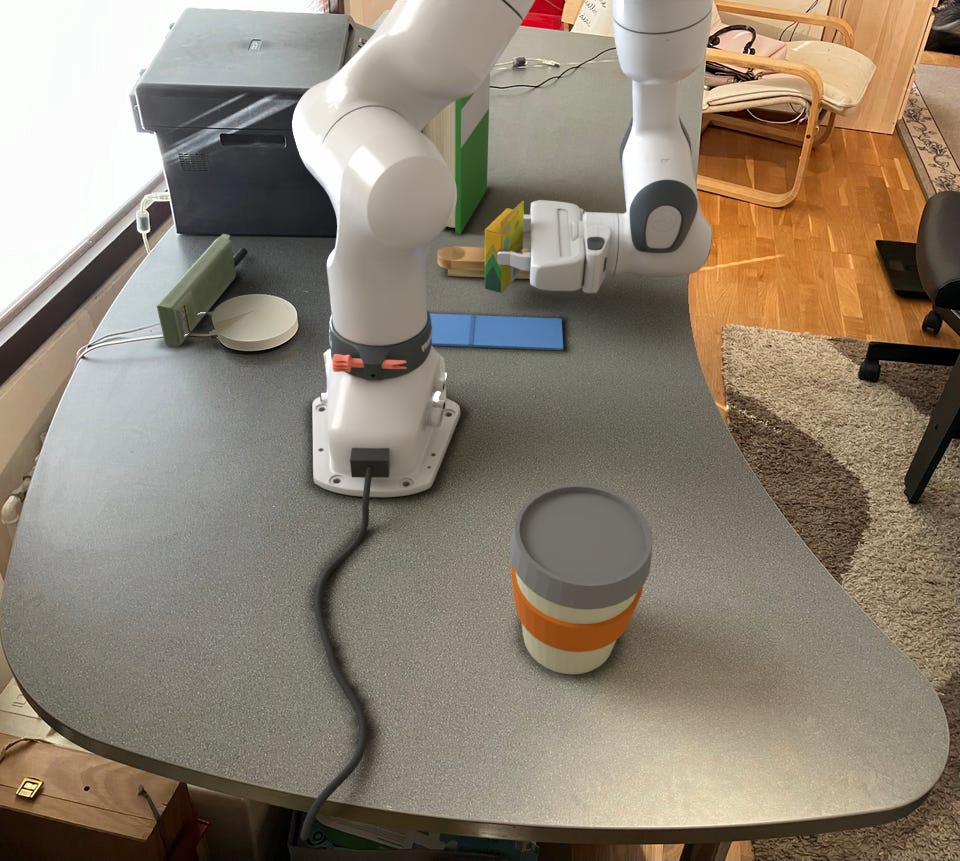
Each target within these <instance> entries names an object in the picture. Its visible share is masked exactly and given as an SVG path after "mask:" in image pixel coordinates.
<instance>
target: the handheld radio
mask: <svg viewBox="0 0 960 861" xmlns="http://www.w3.org/2000/svg"><path fill="white" fill-rule="evenodd" d="M230 237H231V235H230V234H226V233H222V234H221V235H220V236H218V237H217V238H216V239H214V241H213V242H212V243H211V245H209V247H207V249H206V250H205V251H204V252H203V253H202V255H200V257H199V258H197V260H196V261H195V262H194V263H193V264H192V265H191V266H190V268H189V269H188V270H187V271H186V272H185V273H184V274H183V275H182V277H181V278H179V280H178V281H177V282H176V283H175V284H174V285H173V287H172V288H171V289H170V290H169V291H168V292H167V293H166V294H165V295H164V297H163V298H162V299H161V300H160V301H159V302H158V303H157V305H156V309H157V314H158V318H159V323H160V327H161V331H162V336H163V340H164V344H165V345H166V346H167V347H174V348H175V347H176V348H178V347H180V346H181V345H182V344H183V343H184V342H185V340H186V339H187V338H188V336H190V334H191V332H193V330H194V329H195V328H196V327H197V325H198V324H199V323H200V322H201V320H203V318H204V317H205V316H206V314H201V315H197V314H198V313H200V312H207V313H208V312H209V311H210V309H211V308H212V307H213V306H214V304H215V303H216V302H217V300H219V298H220V297H221V296H222V294H223V293H224V292H225V291H226V290H227V288H228V287H229V286H230V284H231V283H232V282H233V281H234V280H235V278H236V276H237V275H236V274H237V273H236V267H237V266H238V265H239V264H240V263H241V262H242V261H243V259H244V258H245V257H246V256H247V255H248V253H249V252H248V250H247V249H246V248H245V247H240V249H239V250H238V251H237V252H236V253H235V254H234V252H233V246H232V242H231V240H230ZM188 333H189V334H188ZM185 334H188V335H187V336H186V337H184V335H185Z"/></svg>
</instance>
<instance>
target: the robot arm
mask: <svg viewBox="0 0 960 861" xmlns="http://www.w3.org/2000/svg"><path fill="white" fill-rule="evenodd" d="M535 2H536V0H396V1H395V3H394V4H393V6H392V7H391V9H390V11H389V13H388V14H387V15H386V16H385V19H383V21H382V22H381V24H380V25H379V26H378V28H377V29H376V30H375V32H373V34H372V36H370V38H369V39H368V40H367V41H366V42H365V43H364V44H363V45H362V46H361V47H360V49H359V50H358V51H357V52H356V53H355V54H354V55H353V56H352V57H351V58H350V59H349V60H348V61H347V62H346V63H345V65H344V66H342V67H341V69H339V71H337V72H336V73H335V74H333V76H332V77H330V78H329V79H326V80H323V81H320V82H318V83H317V84H315V85H313V86H311V87H310V88H309V89H308V90H306V91H305V93H303V95H302V96H301V98H300V99H299V101H298V102H297V104H296V105H295V108H294V112H293V116H292V133H293V138H294V141H295V144H296V148H297V151H298V154H299V156H300V159H301V161H302V163H303V165H304V166H305V168H306V169H307V170H308V171H309V173H310V174H311V175H312V177H313V178H314V179H315V180H316V181H317V182H318V183H319V185H320V186H321V187H322V188H323V190H324V191H325V192H326V195H328V197H329V200H330V202H331V205H332V207H333V211H334V214H335V216H336V225H337V228H336V238H335V246H334V248H333V249H332V251H331V252H330V254H329V256H328V258H327V261H326V273H327V282H328V291H329V302H330V311H331V315H330V318H329V329H328V341H329V348H328V349H327V350H326V351H325V352H323V361H324V367H325V368H324V369H325V375H326V392H321V393H320V396H318V397H316V398H315V399H314V400H312V405H311V406H312V410H311V411H312V412H311V413H312V418H311V420H312V475H313V476H312V478H313V483H314V484H315V485H316V486H318V487H319V488H322V489H324V490H327V491H330V492H332V493H336V494H341V495H344V496H345V495H346V496H351V497H362V502H361V504H362V505H361V514H362V516H361V519H362V520H361V524H360V527H359V530H358V532H357V533H356V534H357V535H356V536H355V538H354V539H353V541H352V542H351V543H350V544H349V546H348V547H347V548H346V549H345V550H344V551H343V552H342V553H340V555H339V556H337V557H336V558H335V559H334V560H333V561H332V562H331V563H330V564H329V565H328V566H327V567H326V568H325V570H324V571H323V572H322V574H321V576H320V578H319V580H318V582H317V585H316V589H315V593H314V594H315V595H314V613H315V614H314V615H315V620H316V625H317V628H318V631H319V634H320V637H321V641H322V643H323V647H324V650H325V653H326V654H325V655H326V656H327V662H328V663H329V667H330V670H331V671H332V674H333V676H334V678H335V680H336V682H337V683H338V685H339V687H340V688H341V690H342V691H343V693H344V694H345V696H346V698H347V699H348V701H349V703H350V705H351V706H352V709H353V710H354V713H355V715H356V719H357V723H358V742H357V745H356V746H357V747H356V749H355V752H354V754H353V756H352V758H351V759H350V761H349V762H348V763H347V764H346V766H345V767H344V768H343V769H342V770H341V771H340V772H339V773H338V774H337V776H336V777H334V779H332V781H330V782H329V783H328V784H327V786H325V788H324V789H323V790H322V791H321V792H320V794H318V796H317V797H316V798H315V800H314V801H313V803H312V804H311V806H310V808H309V810H308V811H307V814H306V816H305V819H304V821H303V824H302V828H301V832H300V836H299V838H300V839H301V841H302V842H303V841H304V842H305V841H307V840H308V839H309V838H310V836H311V830H312V827H313V825H314V822H315V820H316V817H317V815H318V813H319V811H320V810H321V808H322V807H323V805H324V804H325V803H326V802H327V800H328V799H329V798H330V796H331V795H332V794H333V793H334V792H335V791H336V790H337V789H338V788H339V787H340V786H341V785H342V784H343V783H344V782H345V781H346V780H347V779H348V778H349V777H350V776H351V774H352V773H354V771H355V770H356V768H357V767H358V766H359V764H360V762H361V760H362V759H363V756H364V754H365V751H366V748H367V743H368V722H367V718H366V714H365V711H364V708H363V706H362V704H361V702H360V700H359V698H358V697H357V695H356V693H355V691H354V690H353V688H352V687H351V685H350V684H349V682H348V681H347V679H346V677H345V676H344V674H343V672H342V670H341V668H340V665H339V663H338V661H337V658H336V655H335V651H334V648H333V644H332V641H331V639H330V636H329V632H328V630H327V626H326V623H325V619H324V614H323V605H322V604H323V595H324V589H325V586H326V583H327V581H328V579H329V577H330V576H331V575H332V574H333V572H334V571H335V570H336V569H337V568H338V567H339V566H340V565H341V564H342V563H343V562H344V561H345V560H346V559H347V558H348V557H349V556H350V555H351V554H352V552H354V550H356V549H357V547H358V546H359V545H360V544H361V542H362V540H363V539H364V537H365V535H366V533H367V530H368V527H369V522H370V498H396V497H404V496H410V495H414V494H418V493H421V492H424V491H426V490H428V489H430V488H431V487H432V486H433V484H434V482H435V480H436V477H437V475H438V472H439V469H440V467H441V464H442V462H443V460H444V457H445V456H446V452H447V449H448V447H449V445H450V443H451V439H452V437H453V436H454V435H453V434H454V433H455V430H456V427H457V425H458V423H459V420H460V417H461V415H462V414H461V407H460V405H459V404H458V402H457V403H456V402H455V401H454V400H452V399H449V398H448V397H447V387H446V386H447V385H446V379H447V372H446V366H445V365H446V364H445V358H444V357H443V356H442V354H440V353H439V352H438V351H437V350H436V349H435V348H434V345H432V323H431V317H430V314H431V313H430V311H429V310H428V276H427V275H428V274H427V273H428V271H427V270H428V268H427V267H428V258H429V253H430V249H431V244H432V241H433V240H434V239H436V238H438V236H439V235H441V233H442V232H443V231H444V230H445V229H446V227H447V224H448V223H449V221H450V219H451V217H452V215H453V213H454V210H455V206H456V201H457V188H456V183H455V180H454V177H453V175H452V173H451V171H450V169H449V167H448V166H447V164H446V162H445V160H444V159H443V157H442V155H441V154H440V152H439V150H438V149H437V147H436V146H435V145H434V144H433V142H432V141H430V140H429V139H428V138H427V137H426V136H425V135H424V134H422V133H421V131H422V129H423V128H424V127H425V126H426V125H427V124H428V122H429V121H430V120H432V119H433V118H434V117H435V116H436V115H437V114H438V113H439V112H440V111H441V110H442V109H444V108H445V107H446V106H448V105H449V104H450V103H452V102H454V101H456V100H458V99H461V98H464V97H467V96H470V95H472V94H473V93H475V92H476V91H477V90H478V89H479V88H480V87H481V86H482V85H483V83H484V82H485V80H486V78H487V77H488V75H489V74H490V75H491V72H492V71H493V69H494V68H495V66H496V64H497V62H498V60H499V59H500V58H501V56H502V55H503V54H504V52H505V50H506V49H507V47H508V45H509V44H510V42H511V41H512V39H513V38H514V36H515V34H516V33H517V31H518V30H519V28H520V27H521V25H522V24H523V21H524V20H525V19H526V17H527V15H528V13H529V12H530V10H531V8H532V7H533V5H534V3H535ZM611 14H612V15H611V16H612V31H613V38H614V45H615V49H616V54H617V55H616V56H617V58H618V62H619V67H620V69H621V71H622V73H623V74H624V75H625V76H626V77H627V78H629V79H630V80H631V101H632V102H631V120H630V122H629V124H628V127H627V129H626V131H625V134H624V137H623V138H622V141H621V142H620V147H619V162H620V166H621V171H622V180H623V187H624V190H623V191H624V198H625V199H624V200H625V201H624V202H625V209H626V211H625V212H624V213H620V212H595V211H593V212H592V211H587V210H584V208H580V207H579V205H577V204H575V203H571V202H566V201H558V200H547V199H538V200H534V201H532V202H531V203H530V210H529V214H526V213H524V221H523V232H527V233H528V232H529V249H530V252H523V254H519V253H515V252H510V249H503V248H502V249H501V248H500V249H499V250H498V255H497V263H498V264H500V265H510V266H513V267H515V268H518V269H520V270H529V271H530V279H529V284H530V286H532V287H534V288H536V289H538V290H541V291H553V292H576V291H579V290H580V289H582V292H583V293H585V294H596V293H598V292H599V290H600V288H601V286H602V284H603V282H604V280H605V279H606V276H620V275H625V274H634V275H637V276H640V277H647V278H648V277H650V278H651V277H652V278H670V277H681V276H683V277H684V276H688V275H692V274H694V273H697V272H699V271H700V270H701V269H702V268H703V267H704V265H705V264H706V262H707V261H708V258H709V255H710V253H711V248H712V244H713V243H712V242H713V229H712V225H711V223H710V222H709V221H707V218H706V217H705V215H704V212H703V209H702V206H701V203H700V197H699V192H698V186H697V180H696V176H695V169H694V162H693V157H692V156H693V155H692V142H691V141H692V140H691V138H690V136H689V135H690V134H689V132H688V131H687V129H686V127H685V125H684V123H683V121H682V119H681V117H680V104H681V103H680V102H681V84H682V82H681V81H682V80H684V79H686V78H687V77H689V76H690V75H692V74H693V73H694V72H696V70H697V69H698V68H700V66H701V65H702V64H703V62H704V59H705V55H706V52H707V48H708V43H709V38H710V34H711V27H712V17H713V0H611ZM429 313H430V314H429Z"/></svg>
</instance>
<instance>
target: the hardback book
mask: <svg viewBox="0 0 960 861" xmlns="http://www.w3.org/2000/svg"><path fill="white" fill-rule="evenodd" d="M490 88H491V73H490V74H489V75H488V77H487V78H486V80H485V82H484V83H483V85H482V86H481V87H480V88H479V89H478V90H477V91H476V92H475V93H473V94H472V95H470V96H467V97H464V98H461V99H458V100H456V101H454V102H452V103H450V104H449V105H448V106H446V107H445V108H444V109H442V110H441V111H440V112H439V113H438V114H437V115H436V116H435V117H434V118H433V119H432V120H430V121H429V122H428V124H427V125H426V126H425V127H424V128H423V129H422V131H421V133H422V134H424V135H425V136H426V137H427V138H428V139H429V140H430V141H432V142H433V144H434V145H435V146H436V147H437V149H438V150H439V152H440V154H441V155H442V157H443V159H444V160H445V162H446V164H447V166H448V167H449V169H450V171H451V173H452V175H453V177H454V180H455V183H456V188H457V201H456V206H455V210H454V213H453V215H452V217H451V219H450V221H449V223H448V224H447V226H446V227H449V228H454V233H455V234H457V235H461V234H462V232H463V231H464V228H465V227H466V225H467V224H468V222H469V221H470V219H471V217H472V216H473V214H474V212H475V210H476V209H477V207H478V206H479V204H480V202H481V200H482V199H483V197H484V195H485V193H487V190H488V164H489V130H490V128H489V125H490V124H489V122H490V121H489V120H490V91H491V89H490Z"/></svg>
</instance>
